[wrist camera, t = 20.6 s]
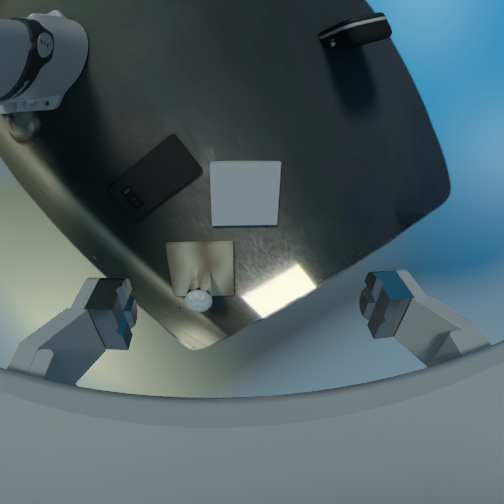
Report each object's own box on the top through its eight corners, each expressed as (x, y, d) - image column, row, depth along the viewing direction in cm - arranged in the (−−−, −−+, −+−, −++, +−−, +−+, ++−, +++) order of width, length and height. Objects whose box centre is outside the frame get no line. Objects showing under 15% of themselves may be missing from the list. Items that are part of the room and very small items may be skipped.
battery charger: (326, 54, 35) (356, 47, 25) (315, 34, 33) (343, 20, 23) (363, 43, 33) (400, 36, 24) (353, 23, 32) (388, 10, 22)
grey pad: (212, 223, 49) (212, 225, 49) (210, 161, 43) (209, 162, 43) (276, 222, 50) (277, 224, 49) (280, 161, 44) (281, 162, 43)
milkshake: (184, 261, 52) (177, 298, 44) (213, 262, 53) (211, 299, 44) (185, 281, 54) (179, 318, 46) (213, 281, 55) (212, 319, 47)
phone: (203, 171, 43) (135, 223, 47) (203, 169, 44) (137, 219, 48) (172, 133, 40) (106, 190, 43) (174, 131, 41) (109, 187, 44)
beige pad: (174, 293, 57) (174, 296, 56) (166, 242, 50) (165, 244, 50) (233, 292, 58) (233, 295, 57) (233, 240, 51) (233, 243, 51)
